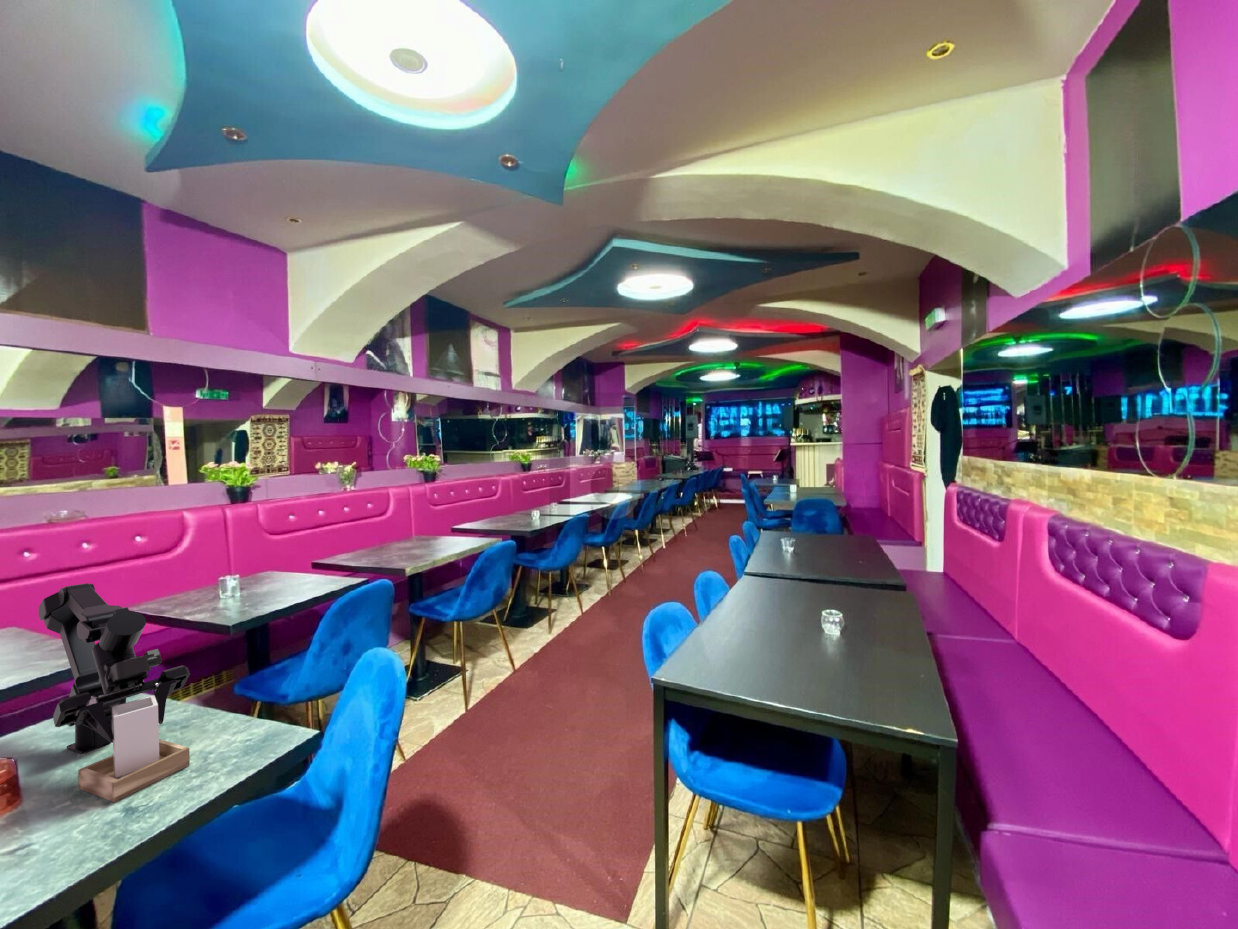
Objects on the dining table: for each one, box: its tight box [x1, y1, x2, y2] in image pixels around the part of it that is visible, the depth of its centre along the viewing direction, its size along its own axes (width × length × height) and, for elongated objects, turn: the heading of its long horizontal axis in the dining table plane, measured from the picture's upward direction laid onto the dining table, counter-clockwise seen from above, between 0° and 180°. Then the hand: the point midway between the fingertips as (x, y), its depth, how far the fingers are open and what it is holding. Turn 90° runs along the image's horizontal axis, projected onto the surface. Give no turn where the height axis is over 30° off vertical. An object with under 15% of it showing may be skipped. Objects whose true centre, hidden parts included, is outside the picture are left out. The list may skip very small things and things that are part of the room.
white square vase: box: [112, 694, 160, 779], centre depth 95 cm, size 6×6×12 cm
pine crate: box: [77, 738, 191, 803], centre depth 95 cm, size 12×12×4 cm
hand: (137, 731), depth 95 cm, fingers open, 7 cm apart
